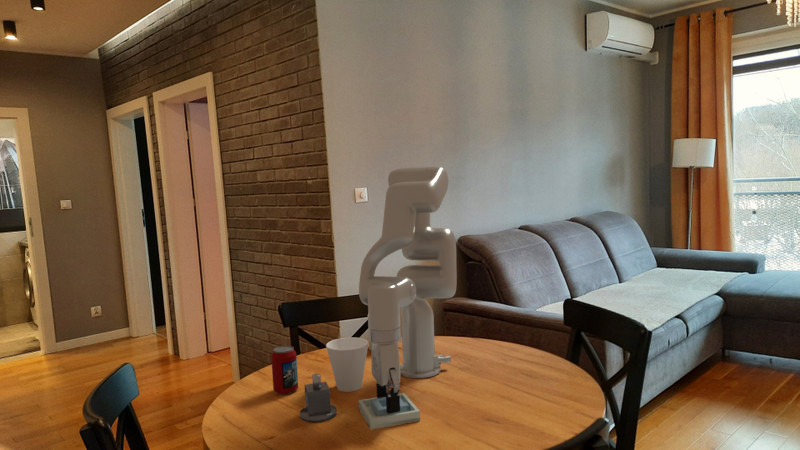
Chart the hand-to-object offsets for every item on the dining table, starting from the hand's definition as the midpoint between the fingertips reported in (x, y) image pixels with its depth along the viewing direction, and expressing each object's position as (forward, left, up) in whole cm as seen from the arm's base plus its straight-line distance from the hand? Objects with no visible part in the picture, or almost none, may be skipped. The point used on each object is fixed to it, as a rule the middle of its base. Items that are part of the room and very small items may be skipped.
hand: (388, 404), depth 134 cm
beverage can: (+22, -26, -3) cm, 34 cm away
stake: (+16, -7, -3) cm, 18 cm away
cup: (+5, -22, -3) cm, 23 cm away
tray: (0, 0, -3) cm, 3 cm away
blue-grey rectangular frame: (0, 0, -2) cm, 2 cm away
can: (-13, -53, -3) cm, 55 cm away
